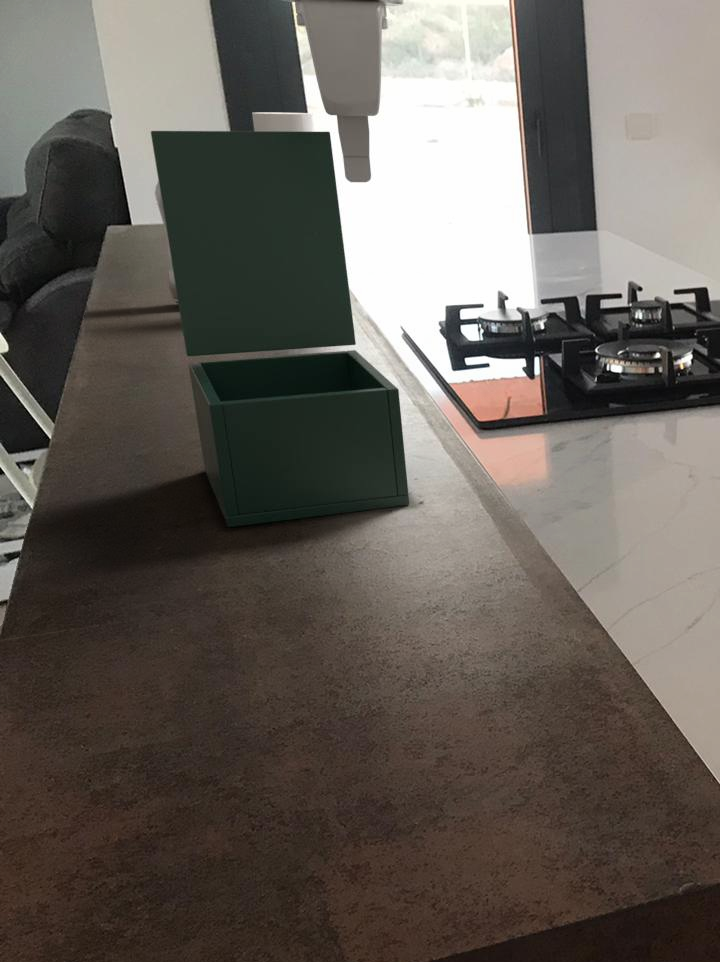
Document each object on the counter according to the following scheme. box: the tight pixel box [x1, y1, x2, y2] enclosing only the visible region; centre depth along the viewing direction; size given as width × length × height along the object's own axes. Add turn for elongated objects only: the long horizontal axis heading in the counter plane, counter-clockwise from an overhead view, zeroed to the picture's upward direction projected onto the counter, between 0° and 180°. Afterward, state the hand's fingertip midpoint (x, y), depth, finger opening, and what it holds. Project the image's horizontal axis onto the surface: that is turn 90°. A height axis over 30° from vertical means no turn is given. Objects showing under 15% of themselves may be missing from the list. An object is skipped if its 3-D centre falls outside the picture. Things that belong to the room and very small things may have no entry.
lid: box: [150, 130, 357, 357], centre depth 100 cm, size 16×13×1 cm
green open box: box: [187, 349, 410, 528], centre depth 97 cm, size 16×13×9 cm
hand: (357, 177), depth 98 cm, fingers open, 8 cm apart
